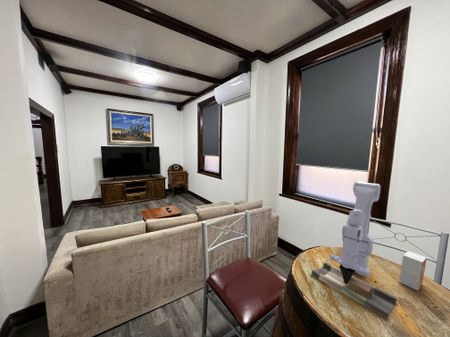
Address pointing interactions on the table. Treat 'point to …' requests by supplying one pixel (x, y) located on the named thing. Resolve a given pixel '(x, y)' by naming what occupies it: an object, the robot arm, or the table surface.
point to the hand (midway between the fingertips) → (346, 282)
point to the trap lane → (377, 302)
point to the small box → (412, 270)
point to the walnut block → (360, 287)
